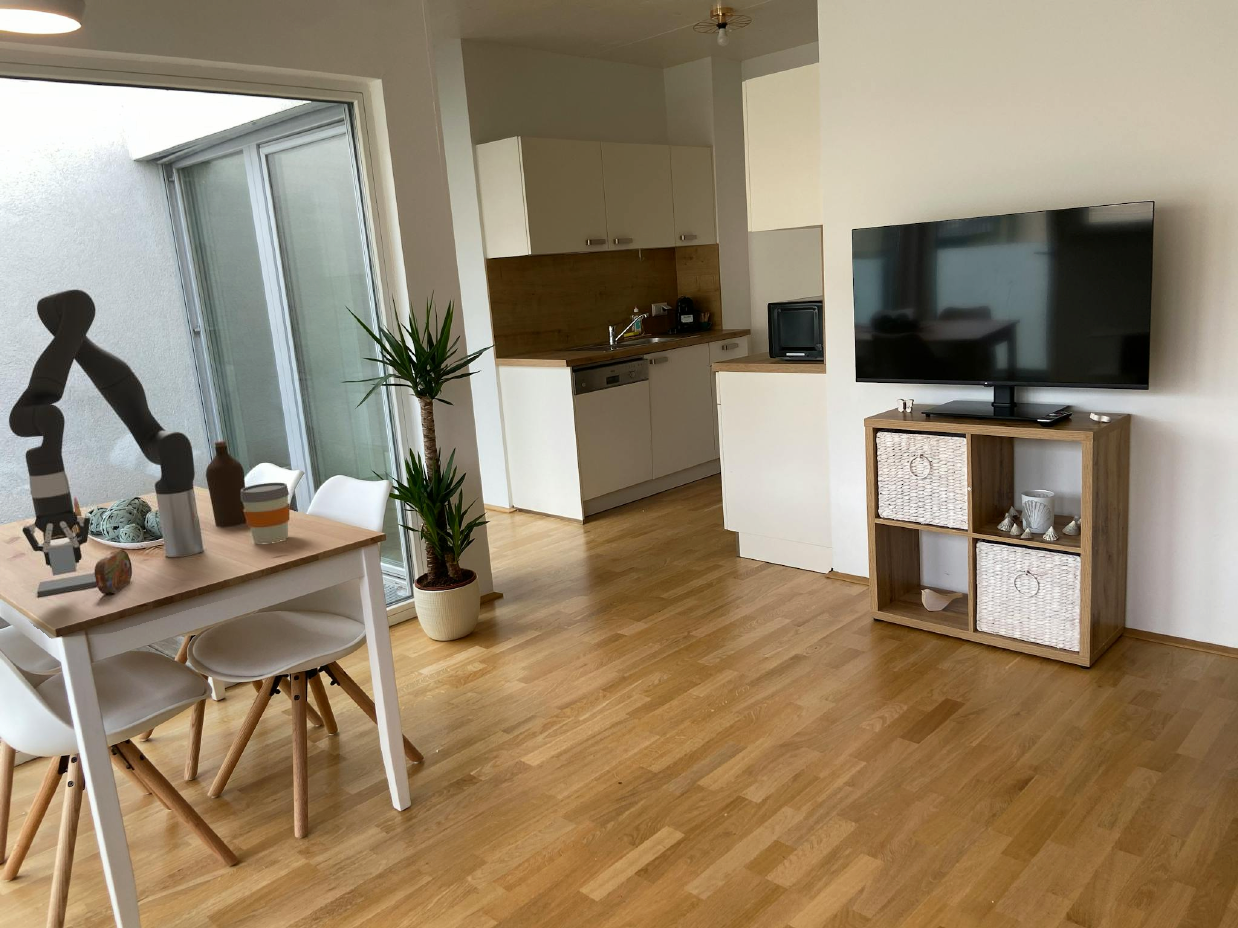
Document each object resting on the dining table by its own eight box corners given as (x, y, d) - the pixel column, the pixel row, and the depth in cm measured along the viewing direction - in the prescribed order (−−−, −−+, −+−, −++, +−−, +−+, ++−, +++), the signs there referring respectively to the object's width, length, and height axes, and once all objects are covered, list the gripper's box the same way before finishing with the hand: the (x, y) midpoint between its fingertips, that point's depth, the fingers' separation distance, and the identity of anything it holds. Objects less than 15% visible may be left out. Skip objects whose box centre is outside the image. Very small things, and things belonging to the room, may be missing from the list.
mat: (100, 576, 236) (99, 571, 236) (99, 585, 229) (99, 580, 228) (40, 586, 231) (39, 582, 230) (38, 596, 223) (37, 591, 223)
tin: (110, 597, 218) (104, 563, 217) (96, 599, 218) (89, 564, 217) (135, 578, 233) (129, 545, 232) (121, 579, 233) (116, 546, 231)
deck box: (77, 561, 222) (73, 536, 221) (76, 571, 213) (71, 545, 212) (55, 565, 220) (50, 540, 219) (53, 575, 211) (47, 549, 210)
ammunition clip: (45, 543, 274) (37, 504, 272) (44, 542, 276) (36, 503, 274) (86, 536, 281) (79, 497, 278) (85, 535, 282) (78, 496, 280)
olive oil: (236, 527, 280) (224, 444, 275) (205, 527, 282) (193, 445, 278) (257, 518, 290) (246, 438, 285) (228, 518, 292) (216, 438, 288)
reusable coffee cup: (237, 545, 258) (229, 492, 255) (265, 533, 270) (258, 482, 267) (276, 546, 255) (269, 492, 252) (303, 533, 266) (296, 482, 264)
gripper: (87, 484, 220) (100, 554, 223) (15, 494, 213) (30, 566, 217) (86, 489, 213) (99, 562, 216) (12, 500, 207) (27, 574, 210)
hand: (64, 564), depth 216 cm, fingers closed on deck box, 4 cm apart
